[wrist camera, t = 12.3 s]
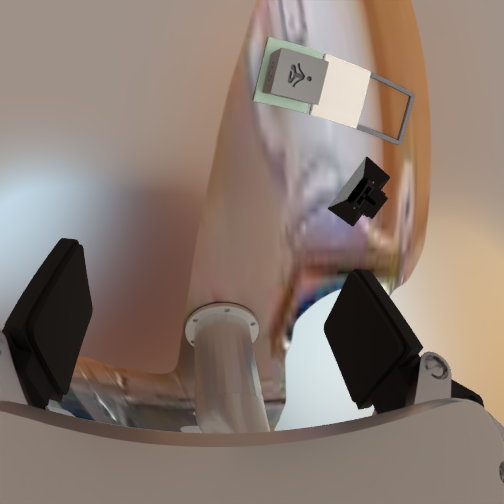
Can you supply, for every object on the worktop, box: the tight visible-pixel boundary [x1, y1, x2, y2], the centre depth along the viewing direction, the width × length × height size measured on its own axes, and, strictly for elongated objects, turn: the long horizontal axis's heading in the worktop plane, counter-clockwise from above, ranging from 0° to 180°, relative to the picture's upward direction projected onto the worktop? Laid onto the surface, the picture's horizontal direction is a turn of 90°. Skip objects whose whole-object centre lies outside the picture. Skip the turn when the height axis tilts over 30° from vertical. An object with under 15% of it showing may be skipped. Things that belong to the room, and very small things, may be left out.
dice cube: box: [262, 48, 329, 105], centre depth 26 cm, size 5×5×5 cm
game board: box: [253, 37, 415, 146], centre depth 29 cm, size 8×21×1 cm, turn 78°
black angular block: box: [328, 157, 390, 226], centre depth 36 cm, size 12×7×5 cm, turn 147°
